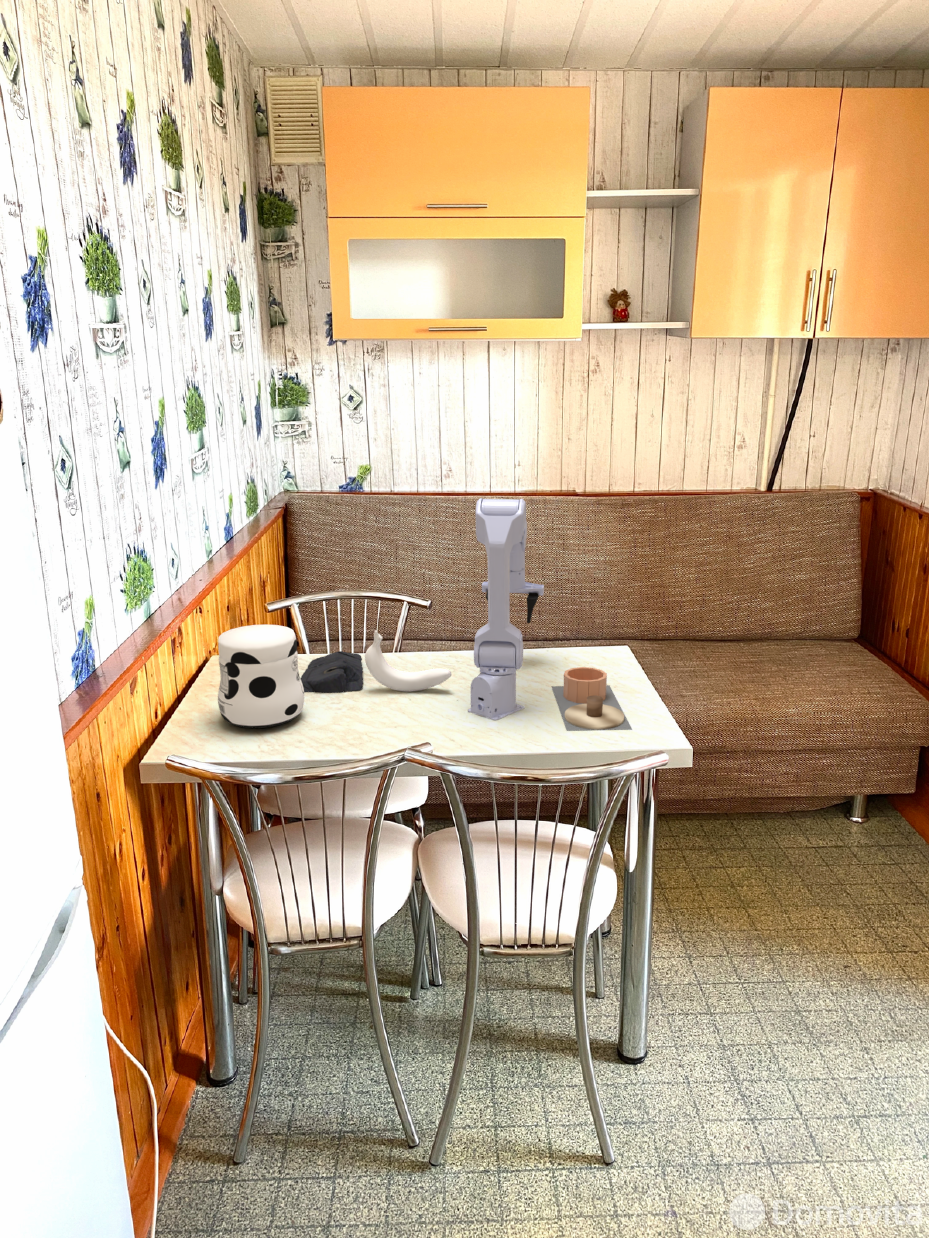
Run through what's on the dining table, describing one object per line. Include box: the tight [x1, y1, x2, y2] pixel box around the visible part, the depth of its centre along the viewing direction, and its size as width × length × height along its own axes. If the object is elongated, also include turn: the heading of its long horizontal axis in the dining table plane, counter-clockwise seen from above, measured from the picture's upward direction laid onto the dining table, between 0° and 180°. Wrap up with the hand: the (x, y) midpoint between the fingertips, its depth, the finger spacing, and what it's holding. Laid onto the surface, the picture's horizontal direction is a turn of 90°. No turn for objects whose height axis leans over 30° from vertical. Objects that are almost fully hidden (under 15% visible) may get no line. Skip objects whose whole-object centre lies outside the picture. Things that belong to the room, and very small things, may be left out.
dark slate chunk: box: [300, 650, 364, 694], centre depth 215 cm, size 15×22×5 cm
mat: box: [551, 684, 633, 732], centre depth 195 cm, size 25×13×1 cm, turn 2°
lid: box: [565, 695, 625, 731], centre depth 188 cm, size 12×12×4 cm
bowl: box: [563, 666, 608, 704], centre depth 200 cm, size 9×9×5 cm
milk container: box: [217, 624, 305, 729], centre depth 189 cm, size 17×17×18 cm
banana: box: [364, 630, 452, 692], centre depth 204 cm, size 5×19×15 cm, turn 90°
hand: (513, 620), depth 221 cm, fingers open, 7 cm apart
